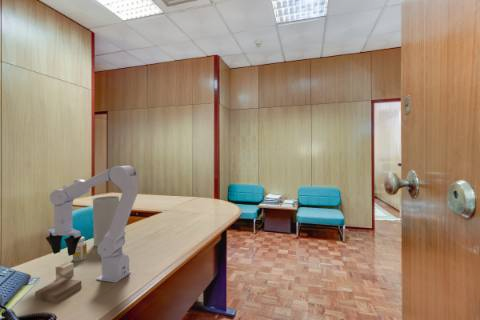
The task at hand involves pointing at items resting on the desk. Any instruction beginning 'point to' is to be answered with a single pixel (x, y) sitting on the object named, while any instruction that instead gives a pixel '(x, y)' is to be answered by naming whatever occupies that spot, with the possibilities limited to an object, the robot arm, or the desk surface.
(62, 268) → the maple block
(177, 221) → the desk surface
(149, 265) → the desk surface
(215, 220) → the desk surface
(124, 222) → the robot arm
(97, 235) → the cylinder vase
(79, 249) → the supplement bottle
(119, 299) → the desk surface
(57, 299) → the walnut block
